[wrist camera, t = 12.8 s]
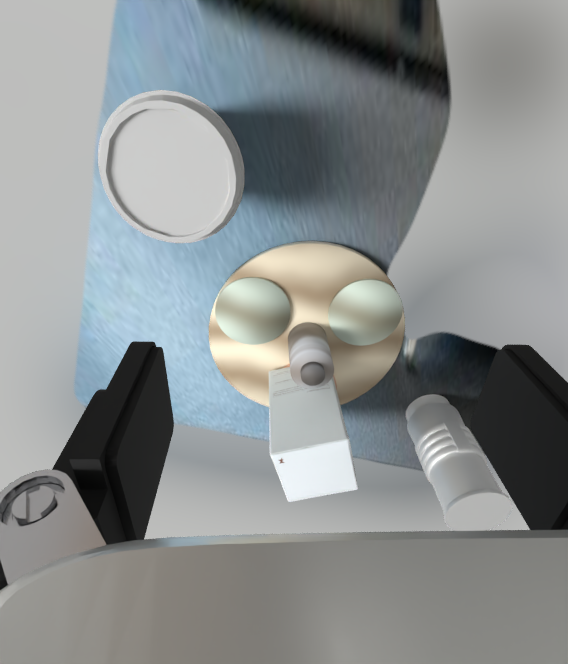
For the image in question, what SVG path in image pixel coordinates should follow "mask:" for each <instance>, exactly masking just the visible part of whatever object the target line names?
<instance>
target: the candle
mask: <svg viewBox="0 0 568 664" xmlns="http://www.w3.org/2000/svg"><path fill="white" fill-rule="evenodd" d="M406 419H407V421H408V423H407V429H408V432H409V434H410V436H411V438H412V440H413V442H414V444H415V450H416V453H417V455H418V457H419V461H420V463H421V464H422V468H423V470H424V472H425V475H426V478H427V479H428V481H429V482H430V483H431V484H432V485H433V487H434V489H435V492H436V494H437V497H438V499H439V502H440V504H441V506H442V509H443V511H444V520H445V523H446V525H447V526H448V527H449V528H450V529H452V530H453V531H487V530H490V529H492V528H494V527H496V526H498V525H500V524H501V523H503V522H504V521H505V520H506V519H507V518H508V517H509V515H510V514H511V512H512V509H513V508H512V503H511V501H510V499H509V497H508V496H507V495H506V494H504V493H503V492H502V490H501V489H500V487H499V485H498V484H497V482H496V480H495V478H494V477H493V475H492V473H491V472H490V470H489V468H488V466H487V460H486V457H485V455H484V454H483V452H482V450H481V448H480V447H479V445H478V444H477V442H476V440H475V438H474V437H473V435H472V433H471V432H470V430H469V428H467V427H466V426H465V425H464V423H463V420H462V418H461V416H460V414H459V412H458V410H457V409H456V408H455V407H453V406H452V405H450V403H449V402H448V400H447V399H446V398H445V397H443V396H440V395H435V394H431V395H425V396H421V397H419V398H417V399H415V400H414V401H413V402H412V403H411V404H410V405H409V406H408V408H407V410H406Z"/></svg>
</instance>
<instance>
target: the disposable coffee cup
mask: <svg viewBox="0 0 568 664" xmlns="http://www.w3.org/2000/svg"><path fill="white" fill-rule="evenodd" d="M98 164H99V171H100V176H101V180H102V183H103V187H104V190H105V192H106V194H107V196H108V198H109V200H110V201H111V203H112V205H113V206H114V208H115V209H116V211H117V212H118V213H119V214H120V215H121V216H122V218H123V219H124V220H125V221H127V222H128V223H129V224H130V225H131V226H132V227H133V228H135V229H137V230H139V231H140V232H142V233H144V234H145V235H147V236H150V237H152V238H155V239H158V240H162V241H165V242H172V243H191V242H195V241H199V240H203V239H206V238H208V237H210V236H212V235H214V234H216V233H217V232H218V231H220V230H221V229H222V228H223V227H225V226H226V225H227V223H228V222H229V221H230V220H231V218H232V217H233V216H234V214H235V213H236V210H237V208H238V206H239V204H240V202H241V199H242V194H243V189H244V163H243V158H242V155H241V152H240V149H239V146H238V143H237V141H236V140H235V138H234V136H233V134H232V132H231V130H230V129H229V128H228V126H227V125H226V123H225V122H224V121H223V119H222V118H221V117H220V116H219V115H218V114H217V113H215V112H214V111H213V110H212V109H211V108H210V107H208V106H207V105H205V104H204V103H202V102H200V101H199V100H197V99H195V98H193V97H191V96H188V95H185V94H182V93H179V92H174V91H165V90H156V91H150V92H144V93H141V94H139V95H136V96H134V97H131V98H129V99H128V100H127V101H125V102H124V103H123V104H121V105H120V106H119V107H118V108H117V109H116V110H115V111H114V112H113V113H112V115H111V116H110V117H109V119H108V121H107V123H106V125H105V127H104V129H103V131H102V134H101V138H100V141H99V150H98Z"/></svg>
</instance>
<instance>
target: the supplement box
mask: <svg viewBox="0 0 568 664" xmlns="http://www.w3.org/2000/svg"><path fill="white" fill-rule="evenodd" d="M269 426H270V456H271V458H272V461H273V463H274V466H275V468H276V471H277V473H278V476H279V478H280V481H281V484H282V486H283V489H284V492H285V494H286V497H287V500H288V502H292V501H297V500H302V499H307V498H312V497H318V496H323V495H329V494H334V493H340V492H346V491H351V490H357V489H358V487H357V480H356V474H355V468H354V463H353V457H352V451H351V445H350V440H349V436H348V433H347V430H346V426H345V423H344V418H343V414H342V410H341V406H340V402H339V398H338V394H337V390H336V386H335V382H334V378H333V377H332V378H331V380H330V381H329V382H328V383H327V384H325V385H323V386H321V387H318V388H304V387H301V386H299V385H297V384H296V383H295V382H294V381H293V379H292V377H291V374H290V367H287V368H282V369H277V370H272V371H269Z"/></svg>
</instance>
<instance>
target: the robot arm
mask: <svg viewBox="0 0 568 664" xmlns="http://www.w3.org/2000/svg"><path fill="white" fill-rule="evenodd" d="M173 427H174V421H173V413H172V407H171V400H170V393H169V387H168V380H167V373H166V367H165V360H164V353H163V349H162V347H156V345H155V343H154V342H132V343H131V344H130V346H129V347H128V349H127V351H126V353H125V355H124V357H123V359H122V361H121V363H120V364H119V366H118V368H117V370H116V372H115V374H114V376H113V378H112V380H111V381H110V383H109V385H108V387H107V389H106V390H98V391H96V393H95V394H94V395H93V397H92V399H91V401H90V403H89V404H88V406H87V408H86V410H85V412H84V414H83V415H82V417H81V419H80V420H79V422H78V424H77V426H76V428H75V429H74V431H73V433H72V435H71V437H70V438H69V440H68V442H67V444H66V446H65V447H64V449H63V451H62V453H61V455H60V456H59V458H58V460H57V462H56V463H55V465H54V467H53V469H52V470H41V471H35V472H32V473H30V474H27V475H24V476H22V477H20V478H19V479H17V480H15V481H14V482H12V483H10V484H9V485H8V486H7V487H6V488H4V489H3V490H2V491H1V492H0V664H568V383H567V382H566V381H565V380H564V379H563V378H562V377H561V376H560V375H559V374H558V373H557V372H556V371H555V370H554V369H553V368H552V367H551V366H550V365H549V364H548V363H547V362H546V361H545V360H544V359H543V358H542V357H541V356H540V355H539V354H538V353H537V352H536V351H535V350H534V349H533V348H532V347H531V346H529V345H505V346H504V347H503V348H502V350H498V351H497V353H496V354H495V357H494V360H493V362H492V365H491V368H490V370H489V373H488V376H487V378H486V381H485V384H484V386H483V389H482V392H481V394H480V397H479V400H478V402H477V405H476V408H475V410H474V413H473V416H472V418H471V429H472V432H473V434H474V436H475V437H476V439H477V441H478V442H479V444H480V446H481V447H482V449H483V451H484V452H485V454H486V456H487V458H488V459H489V461H490V463H491V464H492V466H493V468H494V469H495V471H496V473H497V474H498V476H499V478H500V479H501V481H502V483H503V484H504V486H505V488H506V489H507V491H508V493H509V495H510V496H511V498H512V499H513V501H514V503H515V505H516V506H517V508H518V510H519V511H520V513H521V515H522V516H523V518H524V520H525V521H526V523H527V525H528V526H529V528H530V530H499V531H497V530H495V531H419V532H357V533H356V532H353V533H303V534H254V535H222V536H196V537H195V536H194V537H170V538H157V539H146V540H144V537H145V533H146V529H147V526H148V522H149V518H150V515H151V511H152V507H153V504H154V500H155V496H156V493H157V489H158V485H159V482H160V478H161V474H162V470H163V467H164V463H165V459H166V456H167V452H168V448H169V444H170V441H171V437H172V434H173Z"/></svg>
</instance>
